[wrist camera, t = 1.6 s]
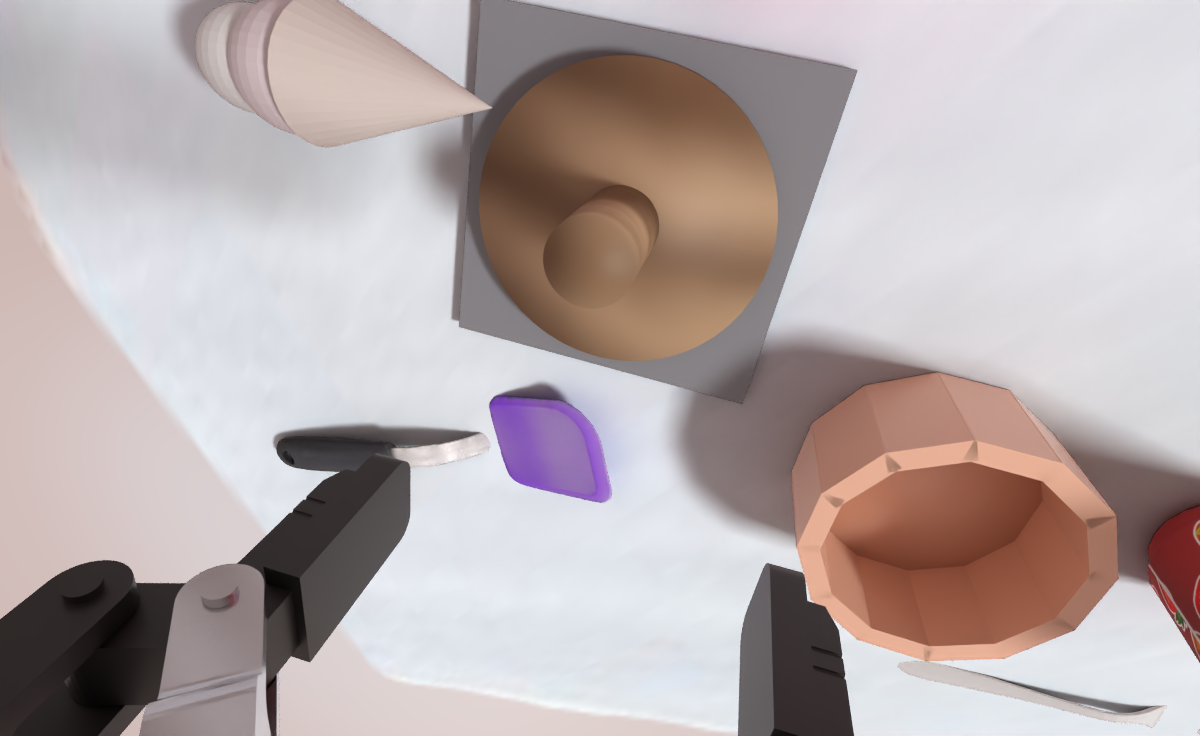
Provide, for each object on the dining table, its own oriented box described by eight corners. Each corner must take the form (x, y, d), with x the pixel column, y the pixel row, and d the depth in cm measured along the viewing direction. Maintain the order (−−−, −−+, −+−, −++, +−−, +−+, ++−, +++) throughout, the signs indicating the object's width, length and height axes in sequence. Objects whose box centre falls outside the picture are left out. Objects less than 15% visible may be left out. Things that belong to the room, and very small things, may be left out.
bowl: (842, 347, 30) (859, 408, 25) (1111, 416, 28) (1188, 496, 23) (766, 531, 36) (766, 611, 31) (983, 595, 34) (1022, 691, 29)
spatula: (303, 483, 44) (280, 505, 42) (265, 402, 41) (239, 420, 39) (623, 481, 37) (614, 507, 35) (603, 383, 35) (593, 405, 32)
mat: (486, -4, 27) (480, -5, 26) (855, 69, 25) (857, 70, 24) (463, 322, 34) (458, 327, 34) (742, 398, 32) (742, 404, 32)
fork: (854, 633, 38) (858, 656, 37) (1317, 721, 34) (1344, 753, 32) (844, 666, 40) (847, 691, 38) (1287, 756, 35) (1311, 788, 34)
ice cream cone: (541, 113, 28) (292, 63, 32) (504, -17, 23) (210, -56, 27) (482, 216, 26) (225, 148, 30) (425, 100, 21) (120, 37, 25)
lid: (500, 26, 26) (422, 18, 20) (823, 91, 25) (842, 104, 19) (477, 315, 33) (413, 373, 27) (729, 382, 32) (721, 460, 26)
